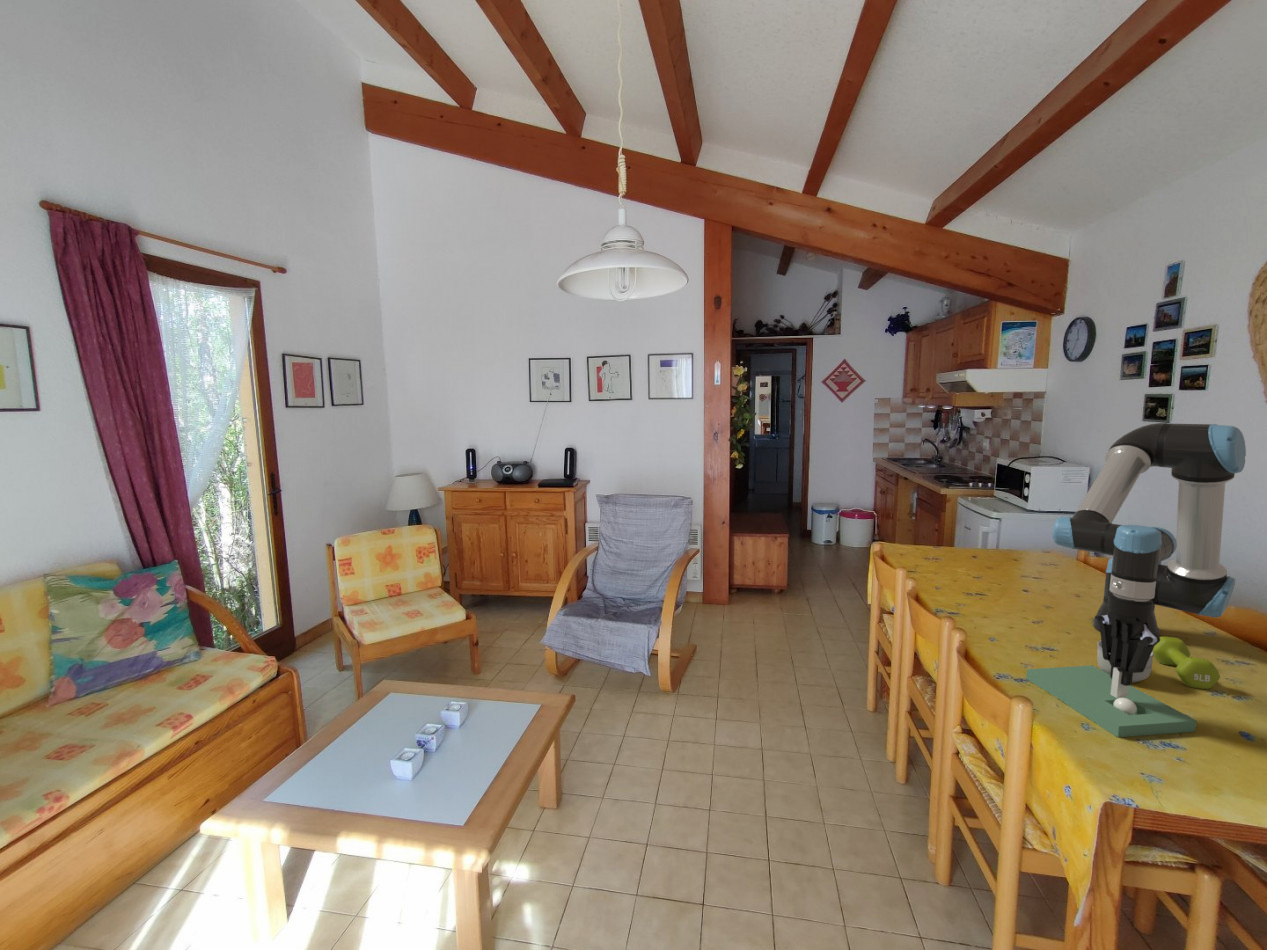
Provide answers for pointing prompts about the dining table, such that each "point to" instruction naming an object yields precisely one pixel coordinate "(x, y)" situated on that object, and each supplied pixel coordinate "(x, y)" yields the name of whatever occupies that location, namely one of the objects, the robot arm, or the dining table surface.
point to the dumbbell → (1186, 663)
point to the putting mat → (1109, 702)
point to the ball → (1125, 706)
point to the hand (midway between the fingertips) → (1118, 695)
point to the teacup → (1106, 665)
